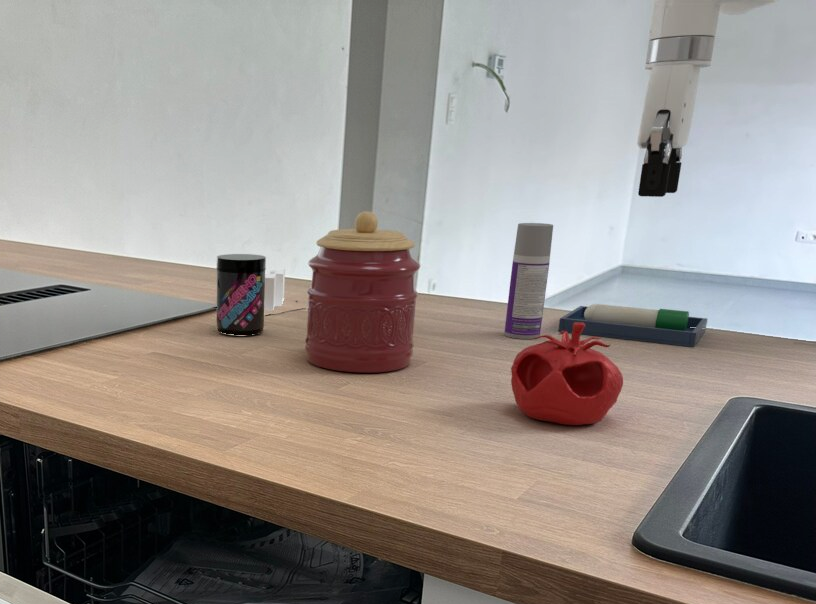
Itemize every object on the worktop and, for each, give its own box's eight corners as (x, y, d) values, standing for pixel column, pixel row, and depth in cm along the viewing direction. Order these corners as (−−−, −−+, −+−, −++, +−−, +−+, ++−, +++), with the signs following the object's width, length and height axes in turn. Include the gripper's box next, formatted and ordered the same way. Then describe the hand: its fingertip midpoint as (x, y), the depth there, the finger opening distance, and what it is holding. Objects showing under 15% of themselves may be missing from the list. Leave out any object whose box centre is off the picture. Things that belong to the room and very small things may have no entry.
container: (506, 331, 122) (519, 222, 117) (541, 334, 120) (556, 223, 115) (501, 337, 118) (514, 225, 113) (537, 340, 116) (552, 226, 111)
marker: (580, 325, 124) (583, 303, 123) (585, 321, 127) (588, 300, 125) (682, 336, 117) (686, 313, 116) (685, 332, 120) (690, 309, 118)
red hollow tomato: (528, 396, 90) (540, 308, 87) (629, 414, 84) (645, 320, 81) (490, 418, 83) (501, 322, 80) (597, 439, 77) (613, 337, 74)
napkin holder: (272, 296, 149) (273, 263, 147) (324, 305, 141) (326, 269, 139) (211, 307, 139) (211, 271, 137) (263, 316, 131) (263, 279, 129)
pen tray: (705, 331, 122) (707, 318, 122) (693, 347, 113) (696, 333, 112) (578, 318, 131) (580, 305, 131) (558, 331, 122) (559, 318, 121)
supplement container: (206, 333, 120) (206, 257, 116) (234, 325, 125) (235, 252, 121) (246, 339, 116) (247, 261, 112) (273, 331, 121) (275, 256, 118)
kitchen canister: (405, 378, 97) (418, 217, 91) (293, 369, 101) (298, 213, 95) (417, 353, 108) (430, 209, 102) (316, 346, 112) (323, 206, 106)
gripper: (658, 62, 119) (639, 191, 124) (634, 52, 105) (614, 197, 111) (719, 58, 115) (697, 191, 120) (703, 47, 101) (679, 198, 107)
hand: (657, 194), depth 116 cm, fingers open, 9 cm apart
